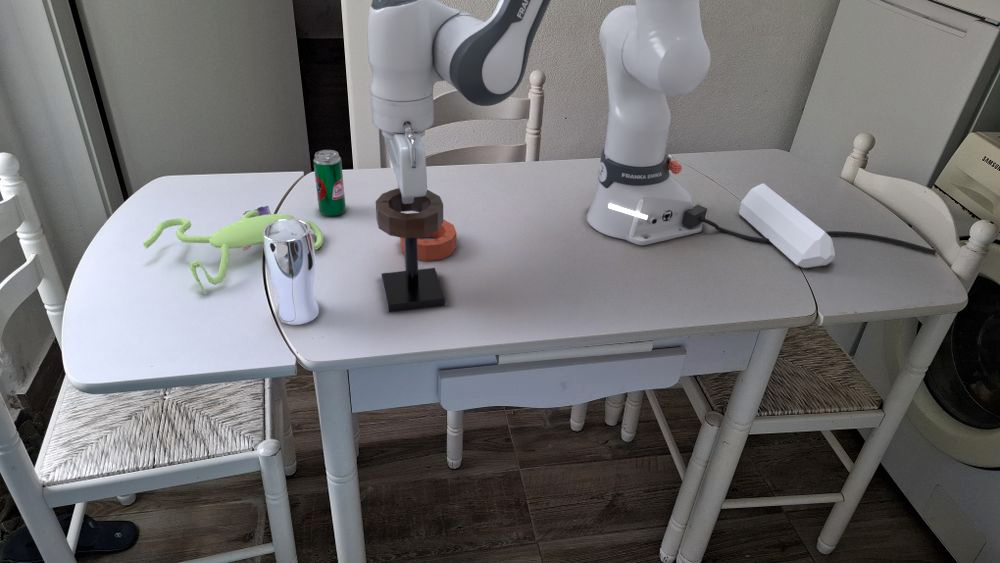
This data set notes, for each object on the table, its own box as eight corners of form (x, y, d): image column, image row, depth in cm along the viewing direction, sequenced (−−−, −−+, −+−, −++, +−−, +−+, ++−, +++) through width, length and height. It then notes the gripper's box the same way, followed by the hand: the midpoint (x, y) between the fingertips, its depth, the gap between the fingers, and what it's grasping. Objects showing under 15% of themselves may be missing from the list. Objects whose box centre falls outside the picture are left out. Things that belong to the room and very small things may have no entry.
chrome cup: (280, 300, 109) (266, 217, 100) (324, 299, 109) (314, 217, 101) (271, 327, 103) (256, 242, 95) (318, 326, 104) (307, 242, 95)
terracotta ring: (449, 230, 129) (449, 215, 128) (460, 257, 122) (460, 242, 120) (397, 235, 127) (396, 219, 125) (405, 263, 119) (404, 247, 117)
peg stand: (435, 275, 117) (434, 210, 110) (445, 305, 110) (444, 238, 102) (381, 280, 115) (377, 215, 108) (388, 312, 107) (384, 244, 100)
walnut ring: (435, 203, 110) (435, 185, 108) (448, 234, 102) (448, 216, 100) (373, 208, 107) (372, 190, 105) (382, 241, 99) (381, 221, 98)
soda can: (340, 219, 131) (334, 161, 124) (315, 216, 132) (307, 158, 125) (350, 207, 135) (344, 150, 128) (325, 204, 136) (319, 147, 129)
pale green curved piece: (141, 254, 118) (132, 226, 115) (282, 208, 133) (278, 182, 130) (185, 303, 107) (177, 273, 104) (334, 246, 123) (331, 219, 119)
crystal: (854, 251, 122) (776, 190, 141) (831, 236, 118) (754, 176, 137) (825, 283, 124) (753, 219, 143) (801, 270, 121) (730, 206, 140)
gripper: (437, 137, 91) (438, 227, 99) (413, 86, 107) (415, 167, 115) (389, 140, 90) (394, 231, 97) (373, 88, 106) (378, 170, 114)
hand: (405, 196), depth 106 cm, fingers closed on walnut ring, 2 cm apart
